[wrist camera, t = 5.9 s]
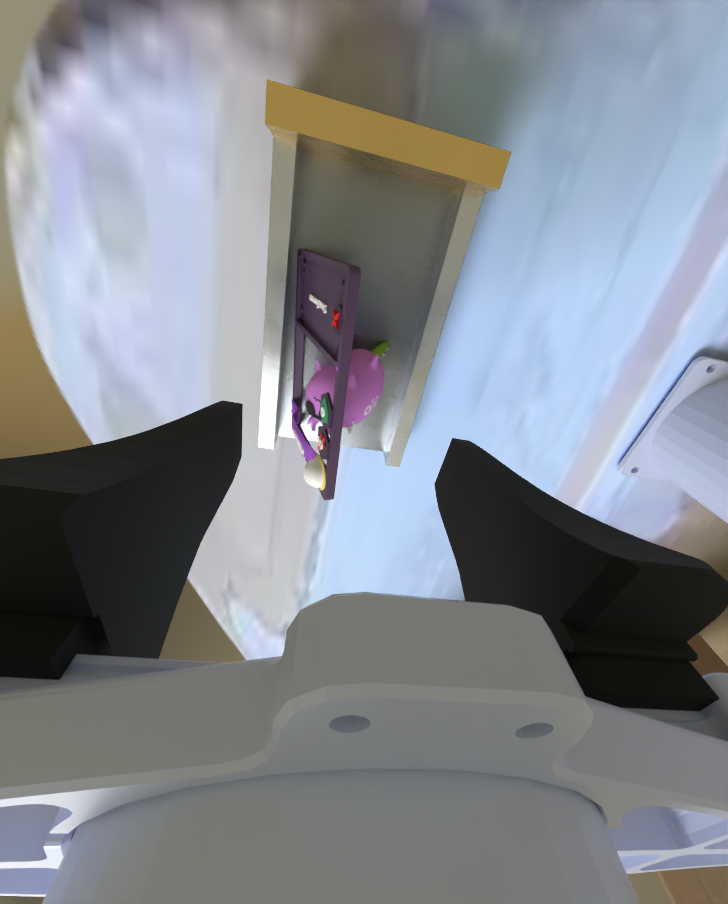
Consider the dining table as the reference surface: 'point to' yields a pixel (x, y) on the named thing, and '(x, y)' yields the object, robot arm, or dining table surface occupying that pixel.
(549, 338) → the dining table surface
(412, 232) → the drawer
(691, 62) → the dining table surface
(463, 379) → the dining table surface
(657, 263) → the dining table surface
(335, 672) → the robot arm
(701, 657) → the wooden block
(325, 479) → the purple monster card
